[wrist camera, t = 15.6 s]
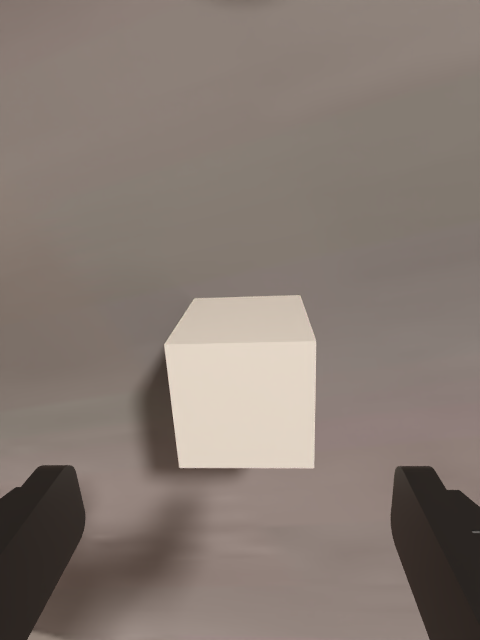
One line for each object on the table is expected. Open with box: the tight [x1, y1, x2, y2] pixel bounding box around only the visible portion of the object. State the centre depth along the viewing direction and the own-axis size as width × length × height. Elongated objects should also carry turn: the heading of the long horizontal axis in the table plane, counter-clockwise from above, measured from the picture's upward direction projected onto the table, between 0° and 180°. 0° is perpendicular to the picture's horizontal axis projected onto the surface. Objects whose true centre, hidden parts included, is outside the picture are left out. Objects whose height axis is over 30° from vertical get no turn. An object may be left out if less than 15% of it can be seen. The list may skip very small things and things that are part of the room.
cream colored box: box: [164, 295, 316, 468], centre depth 22 cm, size 7×7×8 cm
